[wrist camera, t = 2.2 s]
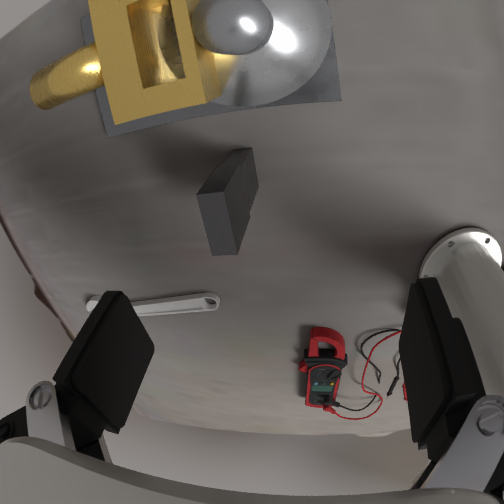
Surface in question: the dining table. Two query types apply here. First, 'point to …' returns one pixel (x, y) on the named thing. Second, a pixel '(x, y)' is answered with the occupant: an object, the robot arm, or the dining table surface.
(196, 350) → the dining table surface
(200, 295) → the adjustable wrench
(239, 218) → the wedge
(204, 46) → the multicoloured piece
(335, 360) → the digital clamp meter
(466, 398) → the robot arm
